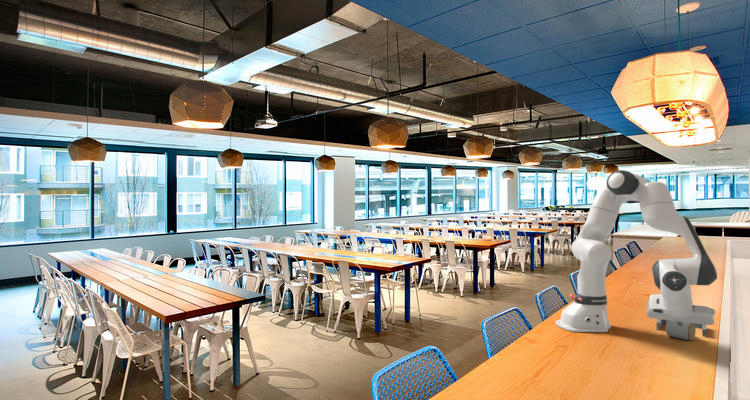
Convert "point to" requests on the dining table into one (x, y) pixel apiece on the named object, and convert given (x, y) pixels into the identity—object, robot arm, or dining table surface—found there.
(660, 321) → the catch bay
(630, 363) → the dining table surface
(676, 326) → the grey cylinder
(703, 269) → the robot arm
